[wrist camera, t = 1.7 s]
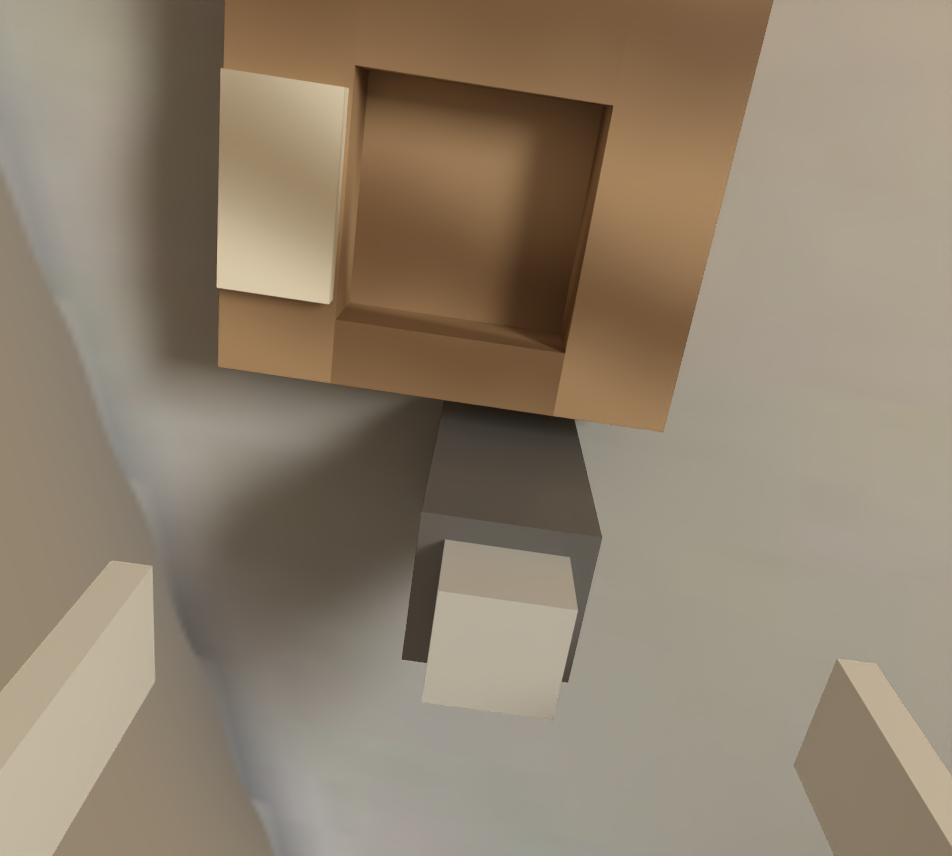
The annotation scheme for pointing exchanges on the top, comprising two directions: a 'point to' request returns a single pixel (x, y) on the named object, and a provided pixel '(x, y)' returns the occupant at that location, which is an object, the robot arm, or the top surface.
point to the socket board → (477, 193)
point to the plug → (501, 561)
